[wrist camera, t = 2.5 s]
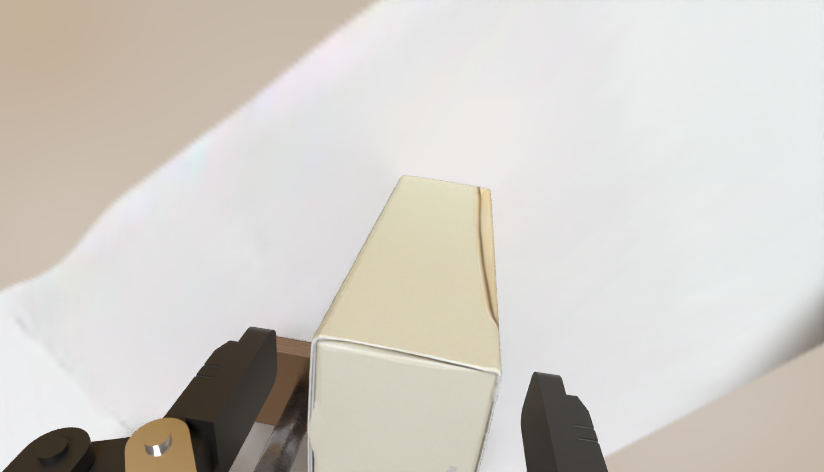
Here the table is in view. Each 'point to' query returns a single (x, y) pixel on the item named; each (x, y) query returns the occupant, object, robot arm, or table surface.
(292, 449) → the balance
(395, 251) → the skincare box
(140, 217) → the table surface
